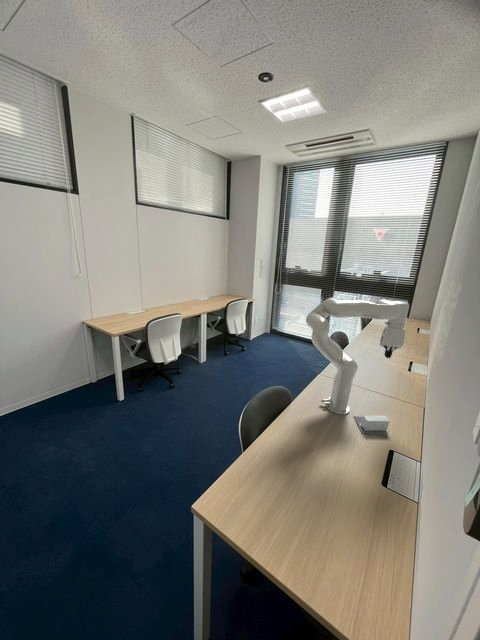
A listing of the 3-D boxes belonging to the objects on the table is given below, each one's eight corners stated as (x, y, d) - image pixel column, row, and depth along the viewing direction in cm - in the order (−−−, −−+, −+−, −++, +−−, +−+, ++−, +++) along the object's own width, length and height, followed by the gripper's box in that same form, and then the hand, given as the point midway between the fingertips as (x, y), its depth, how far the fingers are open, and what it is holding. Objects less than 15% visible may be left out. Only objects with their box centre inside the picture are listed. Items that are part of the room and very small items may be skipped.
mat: (361, 433, 129) (361, 432, 128) (353, 416, 141) (353, 415, 141) (386, 436, 128) (387, 435, 127) (376, 419, 140) (376, 418, 140)
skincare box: (385, 415, 133) (362, 414, 132) (390, 421, 129) (367, 420, 128) (382, 425, 135) (360, 424, 134) (387, 431, 131) (364, 430, 130)
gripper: (383, 325, 133) (375, 358, 138) (414, 328, 131) (405, 361, 137) (377, 321, 140) (370, 352, 145) (407, 324, 139) (398, 355, 144)
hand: (387, 357), depth 141 cm, fingers closed
